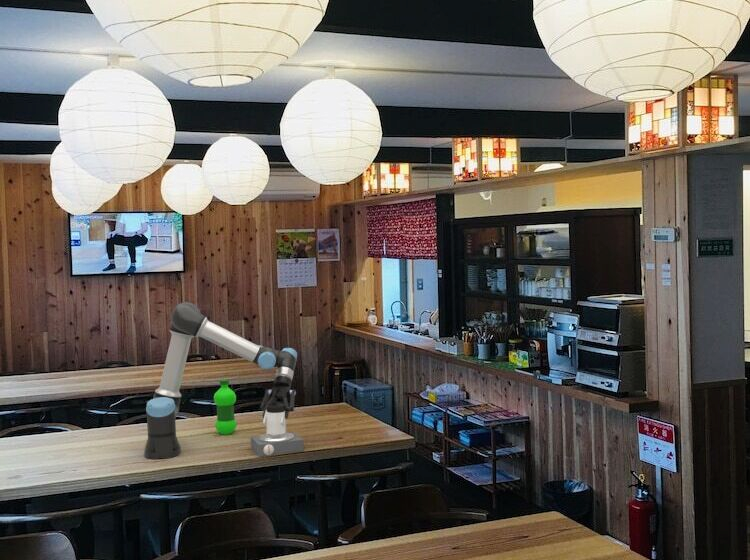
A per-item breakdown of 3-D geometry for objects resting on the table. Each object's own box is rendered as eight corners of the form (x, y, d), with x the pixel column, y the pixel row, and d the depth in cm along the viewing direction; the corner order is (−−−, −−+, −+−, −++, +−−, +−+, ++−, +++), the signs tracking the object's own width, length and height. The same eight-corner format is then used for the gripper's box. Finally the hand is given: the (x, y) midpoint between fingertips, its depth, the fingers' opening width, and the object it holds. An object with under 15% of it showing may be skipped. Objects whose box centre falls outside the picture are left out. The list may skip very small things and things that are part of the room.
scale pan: (263, 444, 338) (263, 442, 338) (255, 436, 352) (255, 434, 352) (298, 439, 344) (298, 438, 344) (289, 432, 358) (288, 430, 358)
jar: (262, 433, 346) (261, 405, 346) (273, 429, 354) (273, 402, 353) (279, 435, 342) (278, 407, 341) (290, 431, 349) (290, 404, 348)
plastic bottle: (225, 436, 374) (223, 382, 373) (210, 434, 381) (208, 381, 379) (241, 432, 382) (240, 379, 381) (226, 429, 389) (224, 377, 387)
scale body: (259, 457, 337) (259, 445, 337) (251, 448, 352) (250, 436, 352) (303, 451, 344) (303, 439, 343) (293, 442, 359) (293, 431, 359)
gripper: (307, 384, 360) (298, 429, 345) (264, 384, 364) (253, 428, 349) (303, 374, 355) (294, 419, 340) (259, 374, 358) (248, 419, 343)
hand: (273, 424), depth 344 cm, fingers closed on jar, 7 cm apart
